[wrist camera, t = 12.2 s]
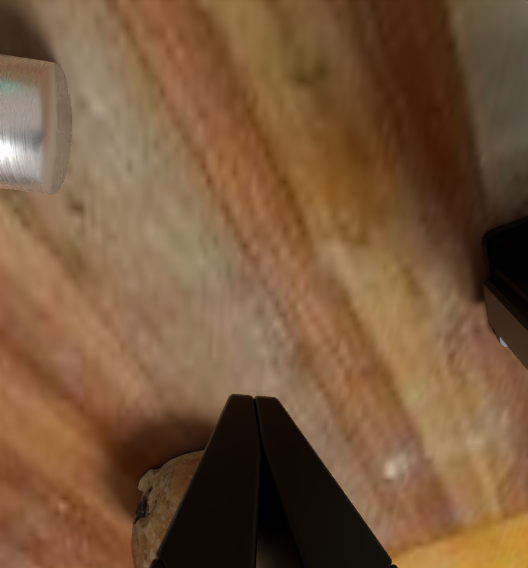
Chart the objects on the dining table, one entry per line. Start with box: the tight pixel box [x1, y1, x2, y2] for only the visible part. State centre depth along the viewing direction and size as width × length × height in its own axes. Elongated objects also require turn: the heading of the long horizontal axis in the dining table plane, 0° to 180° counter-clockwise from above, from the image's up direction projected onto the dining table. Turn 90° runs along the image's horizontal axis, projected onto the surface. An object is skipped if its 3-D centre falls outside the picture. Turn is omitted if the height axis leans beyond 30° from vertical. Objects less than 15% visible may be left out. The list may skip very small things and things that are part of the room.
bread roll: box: [131, 450, 204, 568], centre depth 26 cm, size 10×10×8 cm
